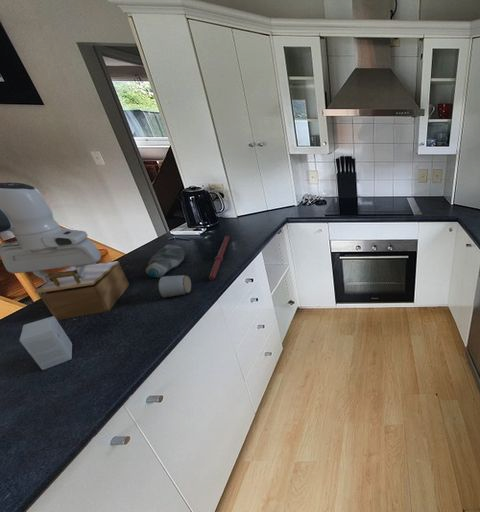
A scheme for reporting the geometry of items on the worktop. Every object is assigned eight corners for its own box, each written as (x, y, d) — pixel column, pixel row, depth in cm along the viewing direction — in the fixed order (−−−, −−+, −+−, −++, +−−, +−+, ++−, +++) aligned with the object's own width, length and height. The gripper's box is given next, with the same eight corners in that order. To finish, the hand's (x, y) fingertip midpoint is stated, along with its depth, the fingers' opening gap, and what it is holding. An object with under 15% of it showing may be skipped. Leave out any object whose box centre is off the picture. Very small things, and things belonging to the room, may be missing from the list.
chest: (109, 310, 93) (96, 286, 88) (56, 320, 88) (39, 295, 84) (129, 285, 107) (119, 263, 103) (84, 291, 103) (71, 269, 98)
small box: (44, 354, 76) (22, 324, 71) (73, 343, 79) (54, 315, 74) (41, 371, 71) (17, 340, 66) (72, 359, 74) (52, 329, 69)
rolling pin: (217, 280, 111) (215, 274, 110) (208, 281, 110) (206, 275, 109) (231, 239, 149) (230, 234, 148) (224, 240, 148) (223, 235, 147)
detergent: (160, 257, 129) (132, 283, 107) (156, 243, 126) (127, 267, 104) (192, 256, 132) (171, 281, 111) (189, 242, 130) (167, 266, 108)
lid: (93, 284, 87) (86, 270, 85) (35, 293, 83) (26, 278, 81) (119, 263, 103) (113, 250, 101) (71, 269, 98) (65, 256, 96)
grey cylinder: (189, 297, 101) (182, 279, 97) (162, 301, 98) (155, 283, 95) (196, 283, 109) (190, 266, 106) (172, 286, 107) (165, 269, 104)
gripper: (-17, 248, 74) (13, 290, 80) (81, 238, 81) (102, 278, 87) (1, 239, 79) (28, 280, 85) (92, 231, 86) (111, 269, 92)
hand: (66, 279), depth 86 cm, fingers closed on lid, 6 cm apart
